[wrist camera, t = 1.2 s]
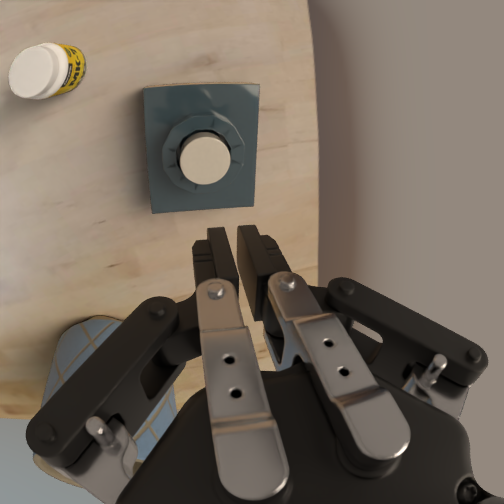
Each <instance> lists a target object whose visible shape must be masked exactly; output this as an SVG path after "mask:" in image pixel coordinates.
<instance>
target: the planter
mask: <svg viewBox="0 0 504 504" xmlns="http://www.w3.org/2000/svg"><path fill="white" fill-rule="evenodd" d="M122 322H123V321H120V320H117V319H114V318H110V317H106V316H94V317H92V318H91V319H89V320H87V321H85V322H82V323H79V324H77V325H74V326H72V327H70V328H69V329H67V330H66V331H65V332H64V333H63V334H62V336H61V337H60V339H59V341H58V344H57V347H56V350H55V354H54V357H53V361H52V365H51V368H50V372H49V376H48V380H47V384H46V388H45V392H44V396H43V400H42V405H41V408H42V407H43V406H44V405H45V404H46V403H47V402H48V400H49V399H50V398H51V397H52V396H53V395H54V394H55V393H56V392H57V391H58V389H59V388H60V387H61V386H62V385H63V384H64V383H65V382H66V381H67V380H68V379H69V378H70V377H71V375H72V374H73V373H74V372H75V371H76V370H77V369H78V368H79V367H80V366H81V365H82V364H83V363H84V362H85V361H86V360H87V358H88V357H89V356H90V355H91V354H92V353H93V352H94V351H95V350H96V349H97V348H98V347H99V346H100V345H101V344H102V343H103V342H104V341H105V340H106V339H107V338H108V337H109V336H110V335H111V334H112V333H113V331H114V330H115V329H116V328H117V327H118V326H119V325H120V324H121V323H122ZM176 415H177V410H176V403H175V395H174V387H173V384H172V385H171V387H170V388H169V389H168V391H167V392H166V393H165V395H164V396H163V397H162V399H161V400H160V402H159V403H158V404H157V406H156V407H155V408H154V410H153V411H152V412H151V414H150V415H149V416H148V418H147V419H146V421H145V422H144V423H143V425H142V426H141V427H140V429H139V430H138V431H137V433H136V434H135V435H134V437H133V439H134V441H135V442H136V444H137V447H138V456H137V459H136V461H135V463H134V466H133V475H134V474H135V473H136V471H137V470H138V468H139V467H140V466H141V464H142V463H143V462H144V460H145V459H146V457H147V456H148V455H149V453H150V452H151V451H152V449H153V448H154V446H155V445H156V444H157V442H158V441H159V439H160V438H161V437H162V435H163V434H164V432H165V431H166V430H167V428H168V427H169V425H170V424H171V422H172V421H173V420H174V418H175V417H176ZM33 461H34V463H35V464H36V465H37V466H38V467H39V468H40V469H41V470H42V471H44V472H45V473H47V474H48V475H50V476H52V477H54V478H56V479H58V480H60V481H63V482H66V483H68V484H71V485H74V486H77V487H81V488H83V487H82V486H80V485H79V484H77V483H76V482H74V481H73V480H71V479H69V478H67V477H65V476H64V475H62V474H61V473H59V472H58V471H56V470H55V469H54V468H52V467H51V466H49V465H48V464H47V463H46V462H45V461H44V460H43V459H42V458H41V457H39V456H38V455H37V454H36V453H34V452H33Z"/></svg>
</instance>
